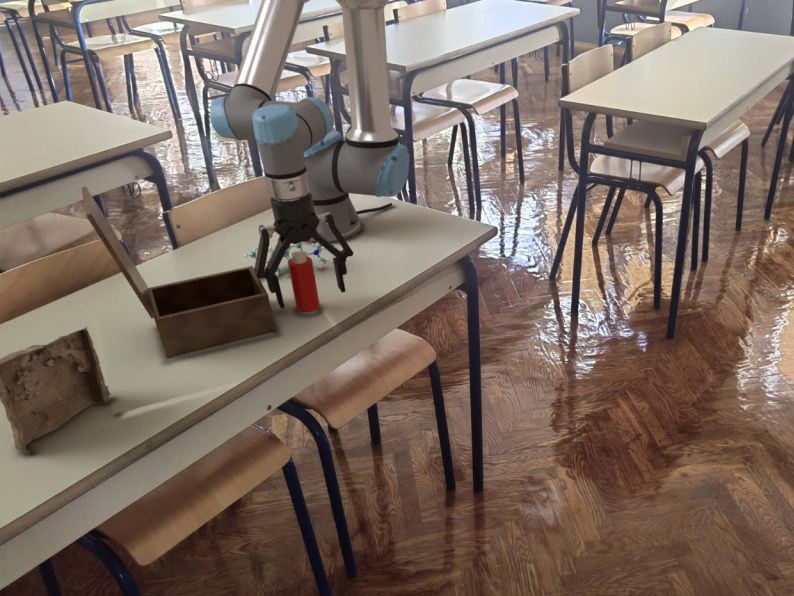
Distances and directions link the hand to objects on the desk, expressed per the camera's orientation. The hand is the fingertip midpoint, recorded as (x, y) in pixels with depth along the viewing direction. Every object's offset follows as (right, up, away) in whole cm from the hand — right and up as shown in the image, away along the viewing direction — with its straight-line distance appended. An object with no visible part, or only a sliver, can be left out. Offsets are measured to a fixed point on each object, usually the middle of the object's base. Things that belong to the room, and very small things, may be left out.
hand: (312, 297), depth 152 cm
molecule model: (-8, +7, +14) cm, 18 cm away
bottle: (-1, -3, +1) cm, 3 cm away
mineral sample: (-32, -24, -29) cm, 50 cm away
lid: (-27, +5, -22) cm, 35 cm away
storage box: (-17, -7, -6) cm, 19 cm away
